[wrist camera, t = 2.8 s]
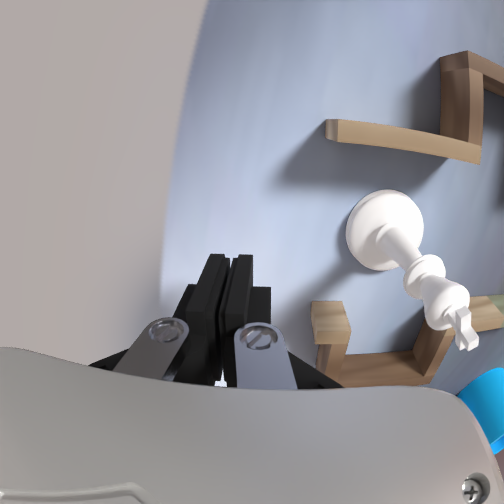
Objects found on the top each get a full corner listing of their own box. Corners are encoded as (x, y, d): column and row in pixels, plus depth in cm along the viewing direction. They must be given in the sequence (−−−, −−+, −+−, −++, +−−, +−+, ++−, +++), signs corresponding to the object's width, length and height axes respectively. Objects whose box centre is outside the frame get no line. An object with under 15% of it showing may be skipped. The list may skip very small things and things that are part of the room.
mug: (515, 363, 21) (542, 410, 14) (482, 407, 25) (501, 452, 17) (449, 375, 22) (478, 439, 14) (414, 421, 25) (431, 479, 18)
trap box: (325, 32, 11) (336, 14, 9) (564, 121, 10) (587, 127, 7) (302, 364, 21) (304, 395, 18) (506, 341, 20) (519, 360, 17)
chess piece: (359, 278, 17) (413, 410, 8) (333, 208, 16) (401, 324, 7) (425, 248, 16) (514, 354, 7) (409, 177, 14) (530, 253, 5)
